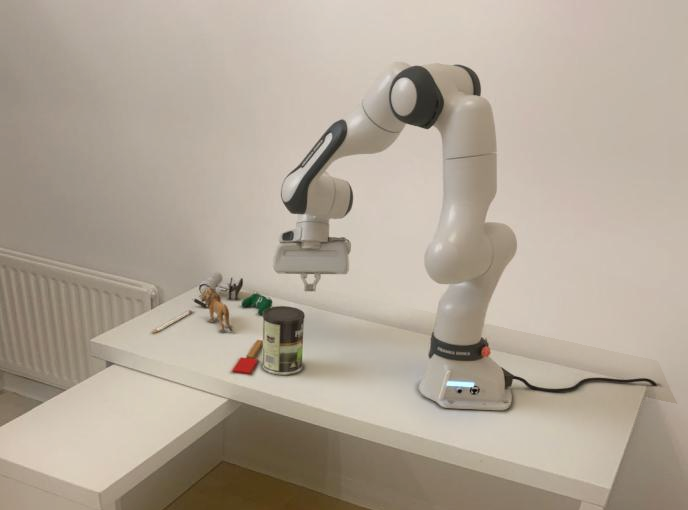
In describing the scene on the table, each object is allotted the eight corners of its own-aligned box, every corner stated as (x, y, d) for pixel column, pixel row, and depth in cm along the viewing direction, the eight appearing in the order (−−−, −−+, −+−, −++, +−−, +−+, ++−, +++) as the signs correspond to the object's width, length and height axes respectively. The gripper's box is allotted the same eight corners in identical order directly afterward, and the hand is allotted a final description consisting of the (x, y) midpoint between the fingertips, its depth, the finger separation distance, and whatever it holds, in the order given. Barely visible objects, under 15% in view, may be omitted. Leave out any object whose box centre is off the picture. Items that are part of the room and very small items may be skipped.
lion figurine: (197, 317, 215) (196, 287, 210) (213, 314, 218) (213, 283, 212) (225, 335, 206) (224, 303, 200) (241, 331, 208) (241, 299, 203)
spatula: (268, 345, 201) (268, 341, 201) (250, 374, 186) (250, 370, 185) (251, 343, 202) (251, 338, 201) (232, 372, 187) (232, 367, 186)
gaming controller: (266, 320, 221) (277, 303, 221) (259, 313, 217) (270, 296, 218) (246, 310, 226) (257, 294, 226) (239, 304, 223) (250, 287, 223)
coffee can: (305, 361, 194) (308, 308, 186) (297, 377, 186) (299, 323, 178) (267, 356, 196) (268, 303, 187) (257, 372, 187) (257, 318, 179)
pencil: (191, 312, 218) (191, 310, 218) (154, 334, 204) (154, 331, 204) (189, 312, 218) (189, 310, 218) (151, 333, 204) (151, 331, 204)
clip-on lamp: (221, 320, 222) (246, 289, 233) (220, 302, 217) (246, 271, 228) (185, 310, 224) (212, 280, 235) (184, 291, 219) (211, 261, 230)
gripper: (352, 239, 199) (350, 293, 201) (278, 239, 202) (276, 292, 204) (349, 234, 192) (346, 289, 194) (272, 234, 196) (270, 288, 198)
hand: (310, 291), depth 199 cm, fingers closed
